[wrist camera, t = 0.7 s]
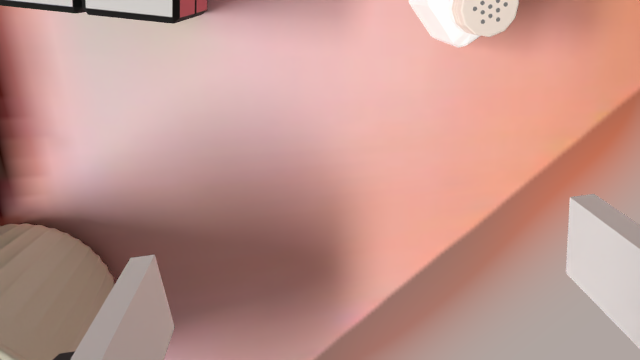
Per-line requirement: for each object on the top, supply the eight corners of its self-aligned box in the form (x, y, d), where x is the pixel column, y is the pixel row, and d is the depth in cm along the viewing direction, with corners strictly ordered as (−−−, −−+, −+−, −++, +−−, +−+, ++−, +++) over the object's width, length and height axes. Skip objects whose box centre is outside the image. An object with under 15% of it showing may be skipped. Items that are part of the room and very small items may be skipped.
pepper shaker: (479, 6, 37) (539, 13, 28) (433, 42, 37) (478, 59, 29) (449, -42, 36) (503, -51, 27) (402, -4, 36) (439, -1, 27)
